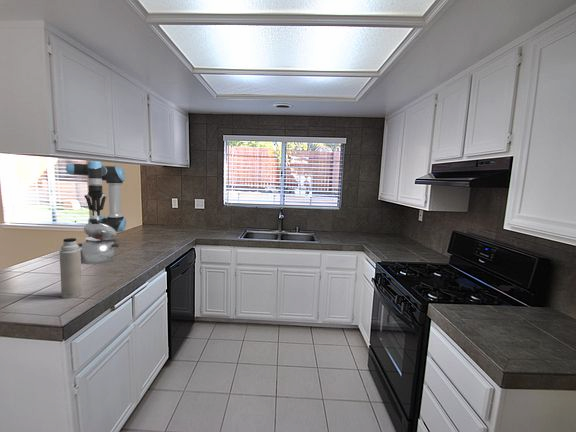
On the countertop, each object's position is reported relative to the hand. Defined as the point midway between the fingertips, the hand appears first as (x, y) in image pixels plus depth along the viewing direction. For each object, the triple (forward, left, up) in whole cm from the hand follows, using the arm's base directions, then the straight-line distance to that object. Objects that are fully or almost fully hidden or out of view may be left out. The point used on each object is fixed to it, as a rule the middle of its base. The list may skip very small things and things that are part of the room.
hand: (96, 220), depth 193 cm
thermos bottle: (+59, +14, -28) cm, 67 cm away
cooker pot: (-2, 0, -28) cm, 28 cm away
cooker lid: (-3, 0, -8) cm, 8 cm away
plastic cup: (-18, -10, -28) cm, 35 cm away
